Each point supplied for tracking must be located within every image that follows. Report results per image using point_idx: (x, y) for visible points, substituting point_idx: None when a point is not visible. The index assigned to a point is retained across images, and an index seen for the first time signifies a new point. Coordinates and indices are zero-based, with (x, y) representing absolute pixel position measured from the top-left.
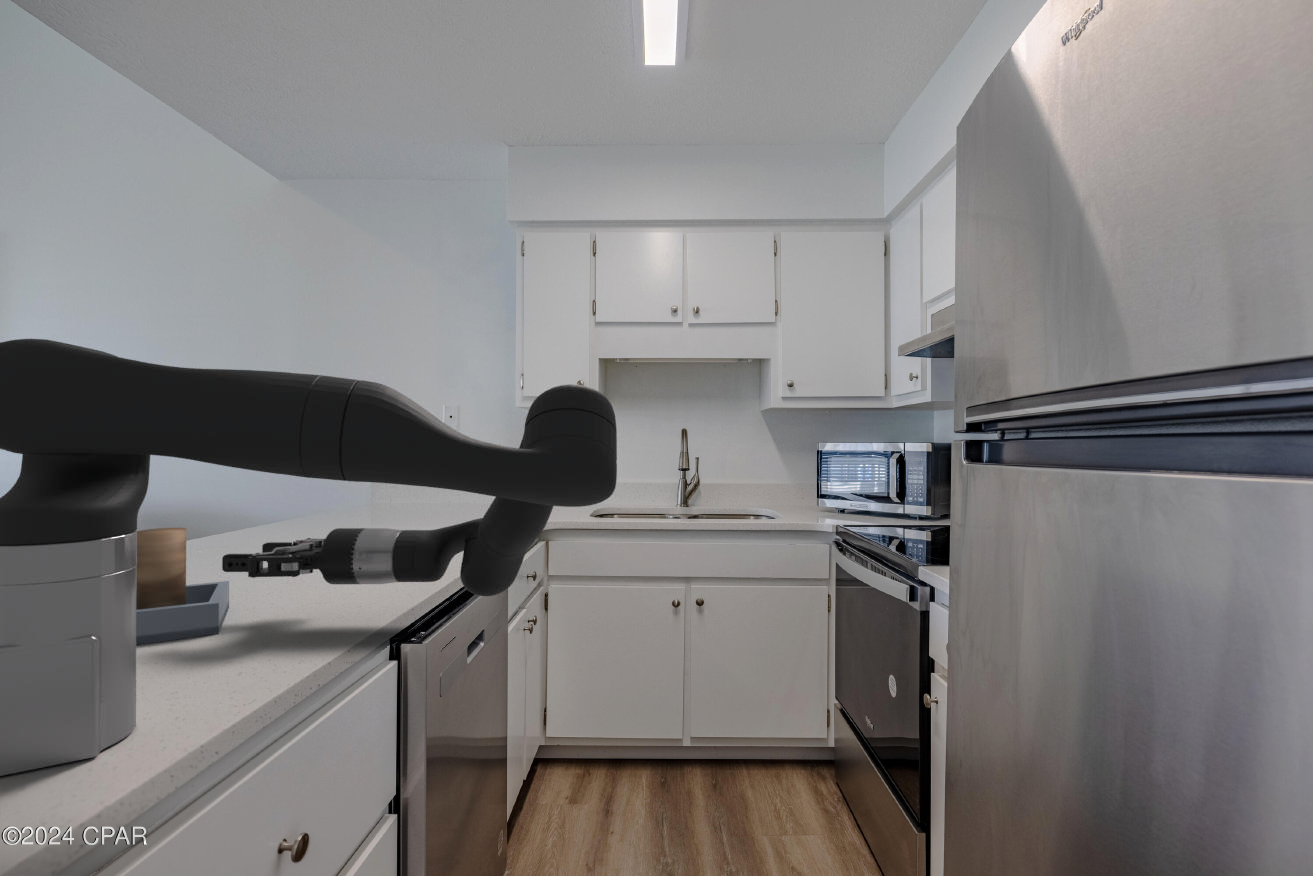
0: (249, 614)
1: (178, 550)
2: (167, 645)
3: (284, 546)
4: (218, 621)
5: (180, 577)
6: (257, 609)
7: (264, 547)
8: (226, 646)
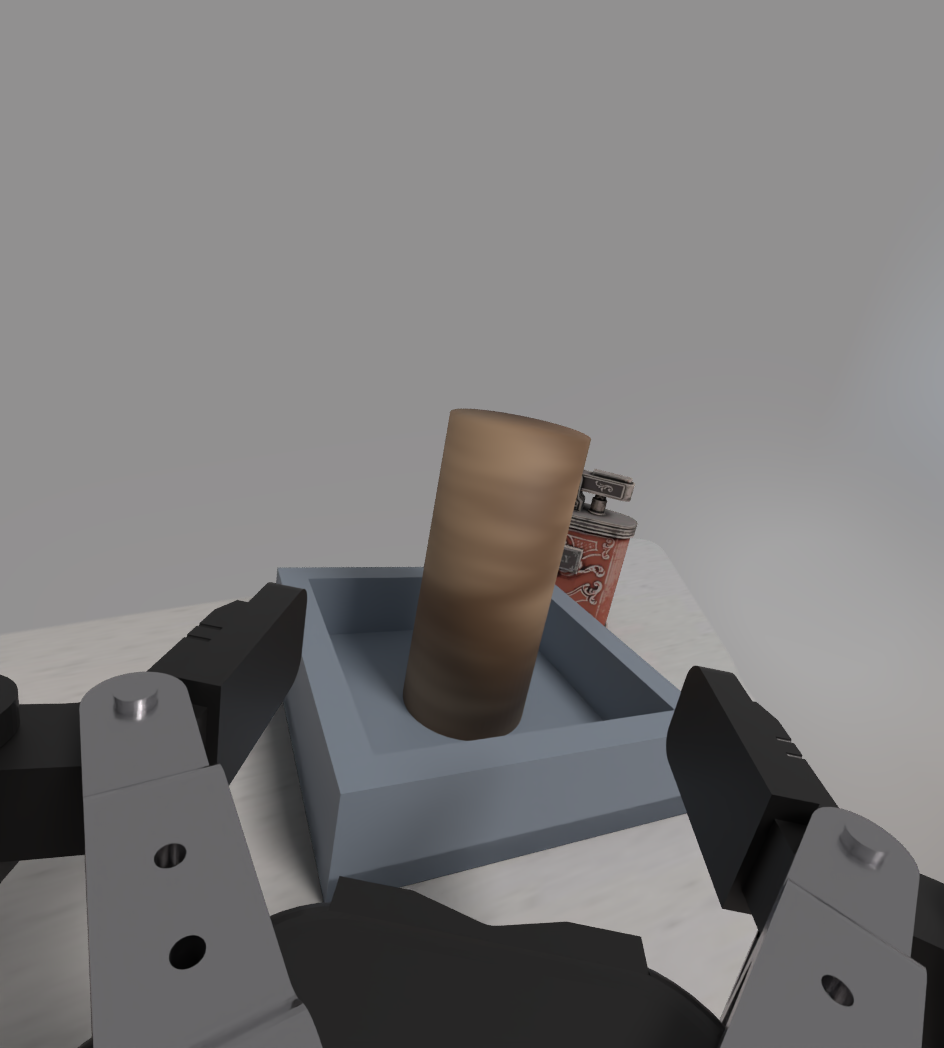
0: (622, 921)
1: (489, 507)
2: (233, 790)
3: (742, 786)
4: (331, 862)
5: (481, 607)
6: (701, 925)
7: (689, 690)
8: (46, 1039)
